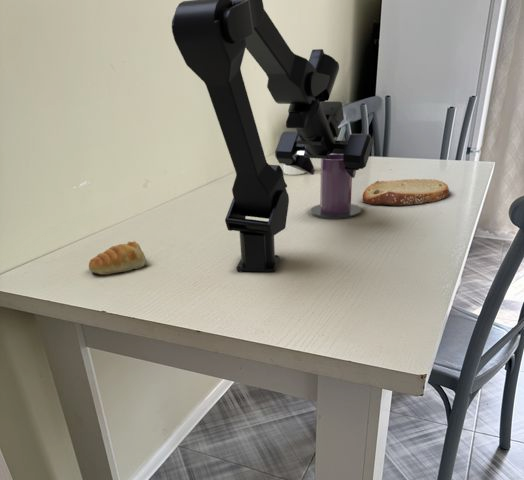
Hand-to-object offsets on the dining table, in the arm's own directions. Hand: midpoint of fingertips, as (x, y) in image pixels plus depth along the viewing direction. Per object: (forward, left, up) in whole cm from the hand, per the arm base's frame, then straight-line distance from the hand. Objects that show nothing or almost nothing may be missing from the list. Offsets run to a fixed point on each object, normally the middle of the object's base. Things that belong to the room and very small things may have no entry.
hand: (333, 174), depth 107 cm
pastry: (-32, +35, -9) cm, 49 cm away
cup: (+2, -1, -8) cm, 8 cm away
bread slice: (+14, -17, -9) cm, 23 cm away
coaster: (+2, -1, -8) cm, 9 cm away
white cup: (+42, +12, -9) cm, 44 cm away
